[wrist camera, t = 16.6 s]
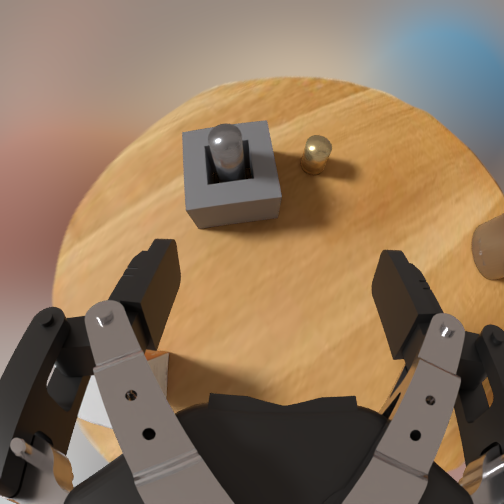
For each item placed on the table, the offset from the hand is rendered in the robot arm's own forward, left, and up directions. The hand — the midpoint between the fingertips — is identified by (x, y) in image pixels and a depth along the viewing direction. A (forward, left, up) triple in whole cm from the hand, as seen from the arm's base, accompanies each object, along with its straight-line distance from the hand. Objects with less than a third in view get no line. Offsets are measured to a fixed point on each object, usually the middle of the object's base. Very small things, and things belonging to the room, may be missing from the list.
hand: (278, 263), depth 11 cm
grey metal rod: (+2, -14, -24) cm, 28 cm away
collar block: (+2, -14, -24) cm, 28 cm away
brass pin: (-9, -16, -24) cm, 31 cm away
